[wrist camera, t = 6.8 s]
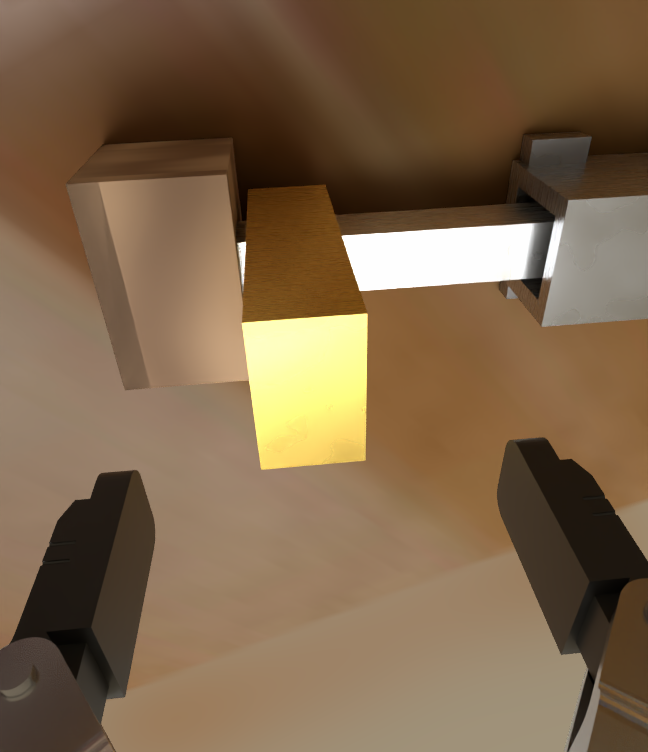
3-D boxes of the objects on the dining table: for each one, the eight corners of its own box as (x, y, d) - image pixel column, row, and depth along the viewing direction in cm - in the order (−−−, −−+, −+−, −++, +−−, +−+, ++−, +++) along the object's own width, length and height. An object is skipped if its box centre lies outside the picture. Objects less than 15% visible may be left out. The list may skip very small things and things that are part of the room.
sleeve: (744, 122, 24) (851, 153, 20) (688, 275, 28) (767, 329, 24) (516, 134, 23) (575, 170, 19) (492, 289, 27) (536, 348, 23)
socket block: (232, 137, 22) (226, 174, 18) (253, 316, 27) (252, 380, 23) (102, 144, 22) (65, 184, 18) (145, 324, 27) (124, 390, 22)
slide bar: (584, 168, 23) (781, 282, 14) (560, 278, 26) (713, 429, 17) (183, 192, 22) (135, 330, 13) (202, 304, 25) (172, 477, 16)
